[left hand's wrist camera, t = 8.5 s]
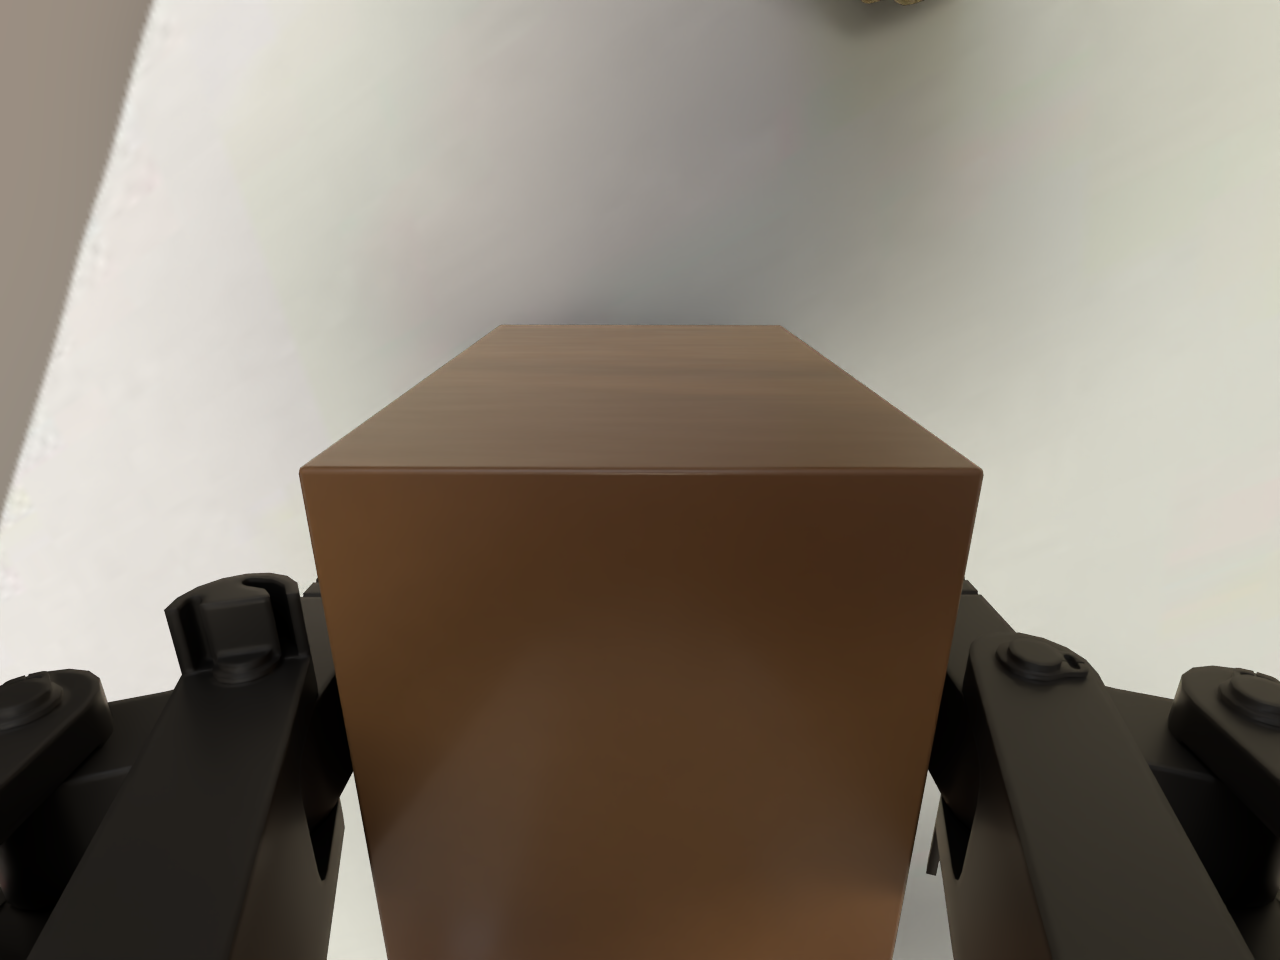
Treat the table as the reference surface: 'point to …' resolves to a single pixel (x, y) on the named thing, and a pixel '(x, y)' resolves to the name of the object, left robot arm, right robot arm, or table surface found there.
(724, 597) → the bar
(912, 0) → the sculpture
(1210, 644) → the table surface
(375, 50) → the table surface
